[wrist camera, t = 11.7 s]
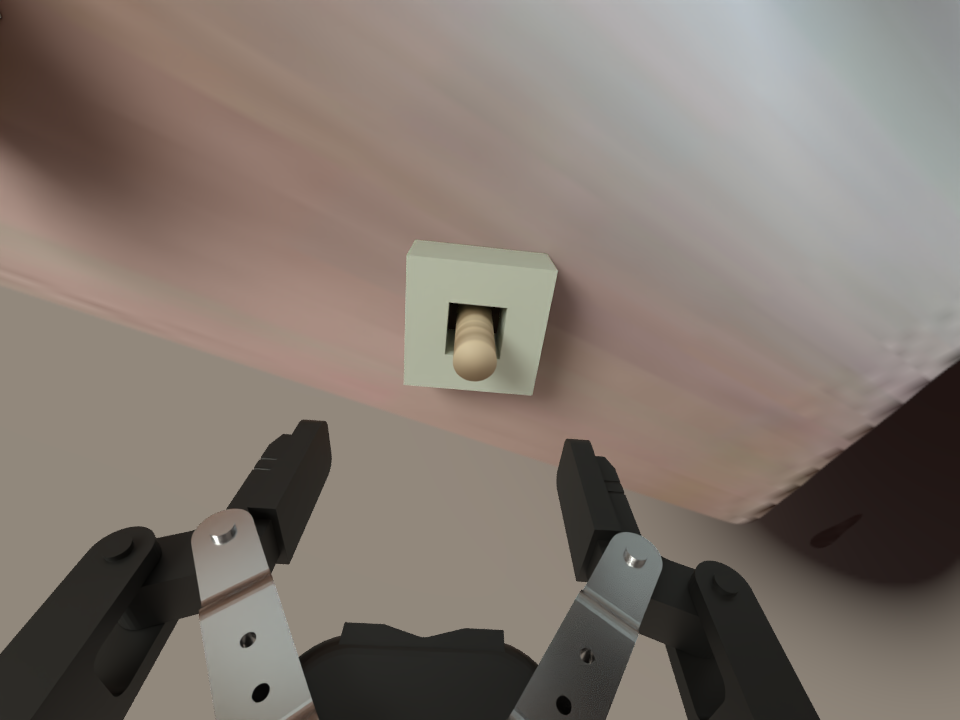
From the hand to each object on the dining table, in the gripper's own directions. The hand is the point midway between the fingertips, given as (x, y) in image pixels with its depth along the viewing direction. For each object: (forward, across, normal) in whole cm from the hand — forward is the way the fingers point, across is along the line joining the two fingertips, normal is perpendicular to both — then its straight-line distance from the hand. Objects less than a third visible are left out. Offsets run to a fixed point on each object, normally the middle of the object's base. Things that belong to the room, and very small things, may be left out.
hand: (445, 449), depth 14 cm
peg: (+23, -1, +5) cm, 24 cm away
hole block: (+23, -1, +4) cm, 24 cm away
